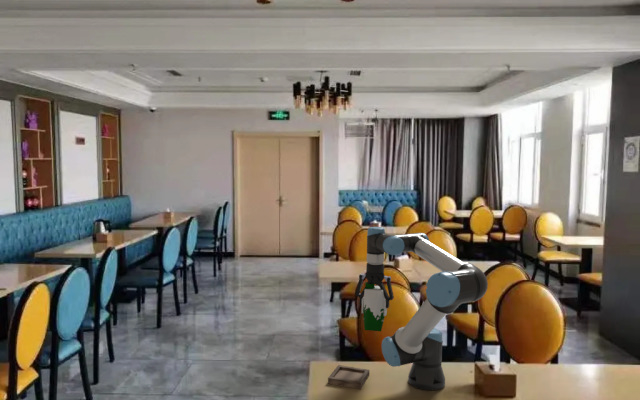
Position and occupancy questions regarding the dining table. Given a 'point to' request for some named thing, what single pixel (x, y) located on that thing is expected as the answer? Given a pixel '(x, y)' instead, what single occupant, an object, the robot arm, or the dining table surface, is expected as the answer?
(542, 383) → the dining table surface
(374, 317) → the soya milk
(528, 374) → the dining table surface
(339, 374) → the walnut tray
